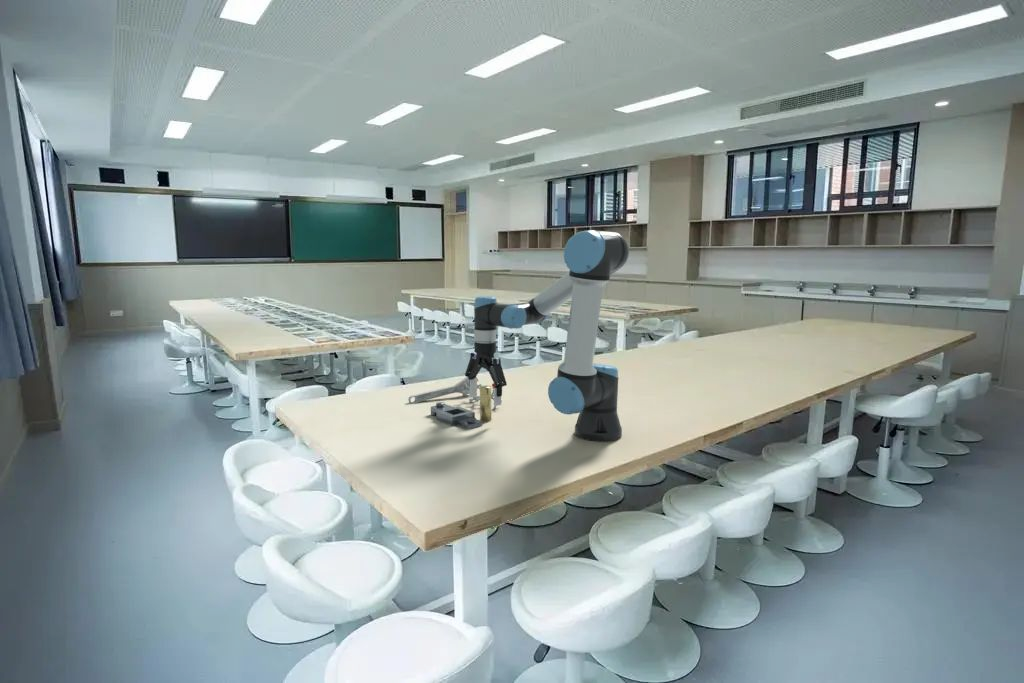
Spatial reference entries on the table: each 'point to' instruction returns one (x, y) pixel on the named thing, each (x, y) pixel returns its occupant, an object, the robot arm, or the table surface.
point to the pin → (485, 403)
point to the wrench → (442, 391)
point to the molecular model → (479, 396)
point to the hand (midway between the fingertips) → (485, 401)
